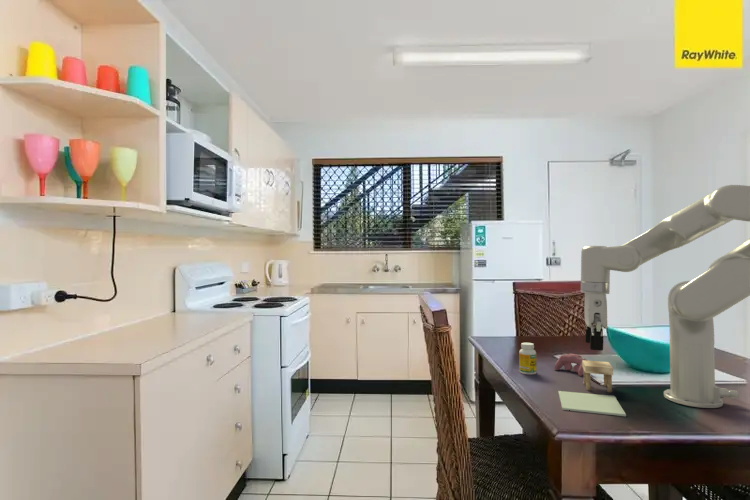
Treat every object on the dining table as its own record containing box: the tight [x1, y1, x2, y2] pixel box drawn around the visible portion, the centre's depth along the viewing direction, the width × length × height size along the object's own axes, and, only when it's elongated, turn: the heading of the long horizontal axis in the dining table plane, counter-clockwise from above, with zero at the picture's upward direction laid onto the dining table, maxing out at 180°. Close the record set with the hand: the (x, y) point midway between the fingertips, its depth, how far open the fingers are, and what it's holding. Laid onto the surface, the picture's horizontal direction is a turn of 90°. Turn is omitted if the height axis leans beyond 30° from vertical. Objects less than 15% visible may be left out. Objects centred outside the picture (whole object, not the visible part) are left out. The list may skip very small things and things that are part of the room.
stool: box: [582, 359, 614, 393], centre depth 123 cm, size 7×7×7 cm
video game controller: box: [554, 353, 588, 377], centre depth 141 cm, size 10×5×7 cm, turn 34°
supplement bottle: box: [518, 342, 538, 376], centre depth 140 cm, size 5×5×10 cm
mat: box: [557, 390, 627, 417], centre depth 111 cm, size 14×14×1 cm
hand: (593, 346), depth 124 cm, fingers open, 9 cm apart
